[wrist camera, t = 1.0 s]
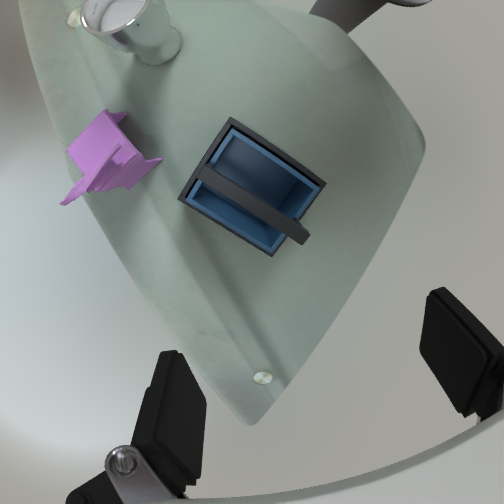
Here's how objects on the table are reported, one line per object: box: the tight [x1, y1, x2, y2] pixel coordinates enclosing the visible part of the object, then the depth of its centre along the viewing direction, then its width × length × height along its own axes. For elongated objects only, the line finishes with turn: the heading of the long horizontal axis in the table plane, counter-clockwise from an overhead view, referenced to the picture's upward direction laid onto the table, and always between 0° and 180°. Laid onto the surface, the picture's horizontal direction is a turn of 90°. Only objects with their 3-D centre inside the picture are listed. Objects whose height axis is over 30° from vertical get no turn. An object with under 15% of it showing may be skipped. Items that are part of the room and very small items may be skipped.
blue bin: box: [186, 128, 320, 254], centre depth 30 cm, size 8×10×13 cm
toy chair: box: [60, 109, 163, 205], centre depth 27 cm, size 8×9×15 cm
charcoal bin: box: [178, 117, 327, 257], centre depth 33 cm, size 10×12×7 cm
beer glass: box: [80, 0, 182, 65], centre depth 22 cm, size 7×7×15 cm
